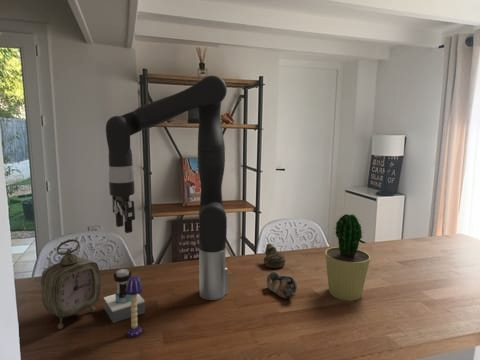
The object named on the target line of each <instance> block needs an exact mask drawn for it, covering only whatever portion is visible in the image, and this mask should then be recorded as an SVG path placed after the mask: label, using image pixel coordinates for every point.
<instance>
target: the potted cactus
mask: <svg viewBox="0 0 480 360" xmlns="http://www.w3.org/2000/svg"><path fill="white" fill-rule="evenodd" d="M359 220H360V219H359V218H358V217H357V216H356V215H355V214H354V213H352V214H351V213H350V214H347V213H346V214H343V215H341V216H340V217H339V218H338V219H337V220H336V222H335V225H334V227H333V229H334V230H335V231H334V234H333V235H335V238H337V242H336V243H337V245H338V246H335V247H329V248H327V249H326V250H325V252H324V253H325V263H326V264H325V265H326V275H327V283H328V291H329V294H330V295H332V296H333V297H334V298H336V299H339V300H343V301H351V302H352V301H357V300H359V299H360V298H361V297H362V296H363V291H364V287H365V282H366V279H367V273H368V269H369V264H370V260H371V256H370V254H369V253H368V252H366V251H364V250H361V249H359V245H360V244H362V242H363V241H361V240H362V238H363V237H365V236H363V230H362V226H361V225H362V223H361V224H360V221H359ZM360 242H361V243H360Z"/></svg>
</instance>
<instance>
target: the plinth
mask: <svg viewBox="0 0 480 360" xmlns="http://www.w3.org/2000/svg"><path fill="white" fill-rule="evenodd" d="M136 297H137V314H138V315H137V316H139V315H142V314H145V313H146V301H145V299H144V298H143V297H142V295H140V293H139V294H137V296H136ZM103 307H104V311H105V312H106V314H107V315H108V317H109V319H110V321H111V322H112V324H114V323H117V322H121V321H124V320H127V319H131V301H130V302H125V303H118V304H116V293H115V294H111V295H107V296H104V297H103Z"/></svg>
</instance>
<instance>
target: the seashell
mask: <svg viewBox="0 0 480 360" xmlns="http://www.w3.org/2000/svg"><path fill="white" fill-rule="evenodd" d="M264 254H265V256H264V258H263V263H264V265H265V266H266V267H268V268H270V269H281V268H283V267H284V266H285V263H286V259H285V254H284V253H282V252H281V251H278V250H277V248H276V247H275V246H274V245H273V244H271V243H267V244H266V247H265V252H264Z"/></svg>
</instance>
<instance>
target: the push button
mask: <svg viewBox="0 0 480 360" xmlns="http://www.w3.org/2000/svg"><path fill="white" fill-rule="evenodd" d="M132 274H133V273H132V272H131V271H130V270H129V269H126V268H122V269H121V268H120V269H118V270H116V272H115V273H114V274H113V278H114V281H115V282H116V292H115V294H116V304H118V303H125V302H130V301H131V295H128V294H126V292H125V290H126V286H127V282H128V279H129V278H130V277H132Z"/></svg>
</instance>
